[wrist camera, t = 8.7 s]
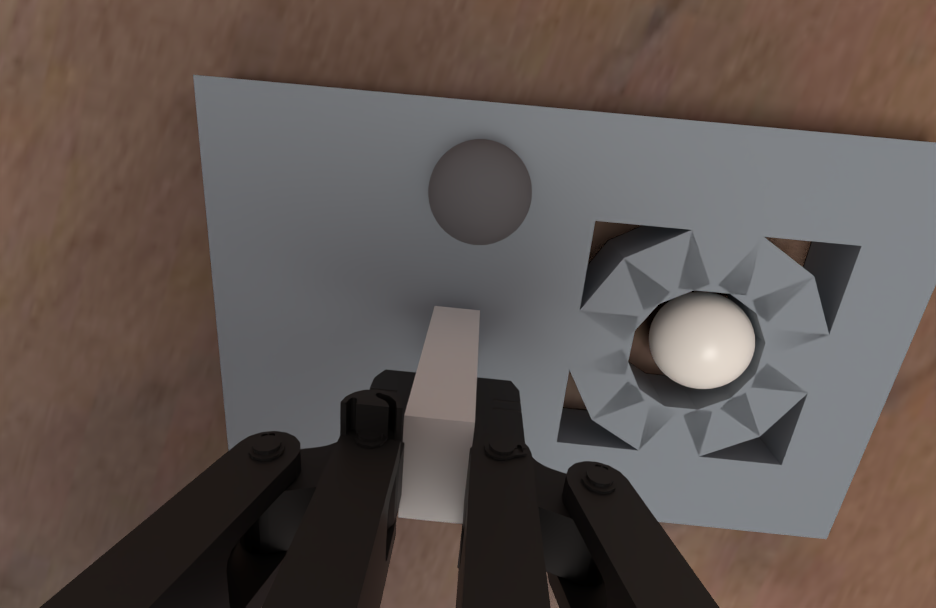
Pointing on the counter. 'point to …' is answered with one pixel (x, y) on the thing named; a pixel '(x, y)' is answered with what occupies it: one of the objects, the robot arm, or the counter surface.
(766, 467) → the plate
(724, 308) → the ball
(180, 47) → the counter surface
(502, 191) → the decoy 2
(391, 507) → the robot arm
